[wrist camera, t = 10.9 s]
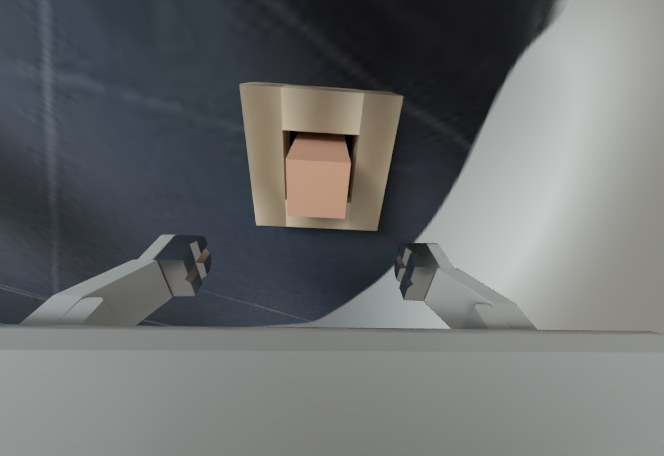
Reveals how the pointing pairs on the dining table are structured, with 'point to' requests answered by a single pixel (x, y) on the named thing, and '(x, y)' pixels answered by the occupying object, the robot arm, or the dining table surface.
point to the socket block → (324, 117)
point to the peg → (317, 175)
